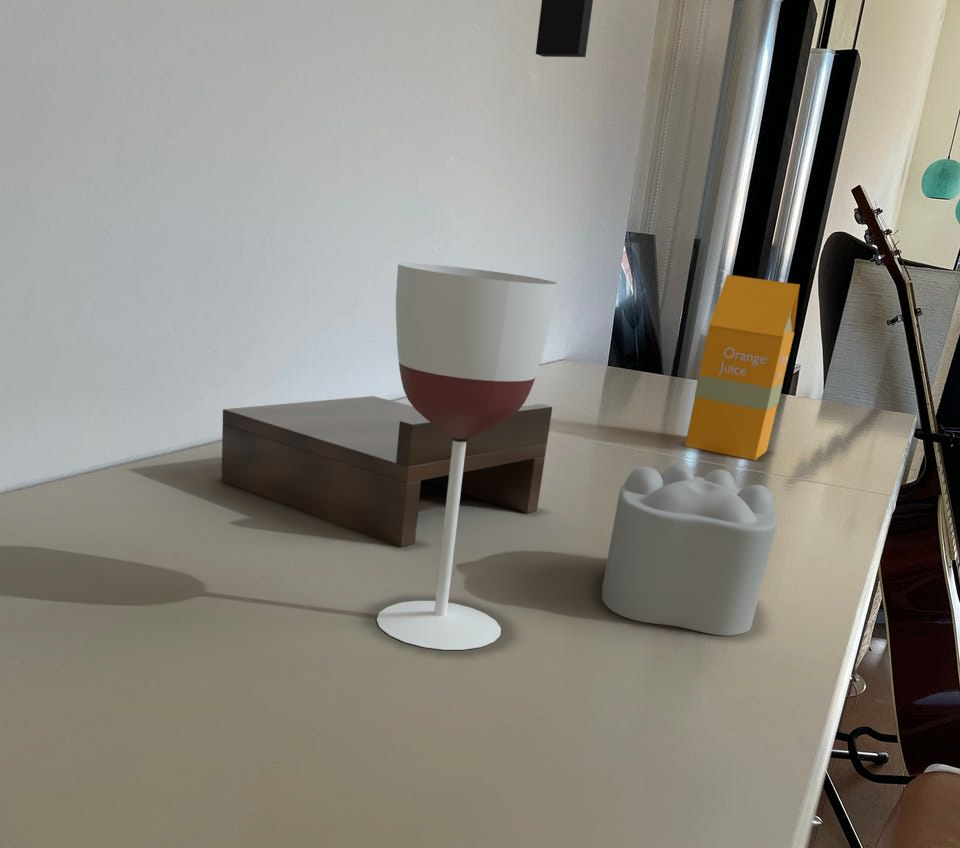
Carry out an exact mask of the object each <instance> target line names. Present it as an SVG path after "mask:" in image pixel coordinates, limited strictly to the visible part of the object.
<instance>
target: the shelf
mask: <svg viewBox="0 0 960 848" xmlns="http://www.w3.org/2000/svg"><path fill="white" fill-rule="evenodd" d="M552 413H553V406H550V405H547V404H542V403H538V404H530V405H522V407H521V408H520V409H519V410H518V411H517V412H516V413H515V414H514V415H513V416H511V417H510V418H509V419H507V420H506V421H504V422H502V423H501V424H499V425H497V426H495V427H493V428H491V429H489V430H486V431H484V432H482V433H480V434H478V435H476V436H474V437H472V438H470V439H469V440H468V441H467V442H466V449H465V458H464V467H463V475H462V484H461V493H462V494H465V495H467V496H472V497H474V498H476V499H477V498H478V499H481V500H484V501H487V502H490V503H493V504H497V505H499V506H502V507H506V508H509V509H513V510H516V511H519V512H522V513H524V514H530V513H533V512H537V511H538V507H539V502H540V501H539V500H540V494H541V488H542V481H543V474H544V468H545V467H544V465H545V459H546V452H547V446H548V440H549V432H550V428H551V427H550V426H551V420H552ZM221 433H222V434H221V435H222V436H221V437H222V438H221V439H222V440H221V482H223V483H226V484H229V485H231V486H234V487H237V488H239V489H242V490H245V491H247V492H251V493H252V494H256V495H257V496H258V495H259V496H261V497H264V498H266V499H269V500H272V501H275V502H278V503H280V504H283V505H286V506H288V507H291V508H294V509H297V510H299V511H301V512H305V513H308V514H310V515H313V516H315V517H318V518H321V519H323V520H327V521H328V522H332V523H334V524H336V525H340V526H343V527H345V528H348V529H351V530H352V531H353V530H354V531H356V532H359V533H361V534H364V535H367V536H370V537H372V538H375V539H378V540H380V541H383V542H386V543H389V544H392V545H394V546H397V547H400V548H403V547H406V546H410V545H415V544H416V535H417V526H418V525H417V524H418V516H419V505H420V496H421V495H420V494H421V484H422V481H424V482H427V483H430V484H433V485H436V486H439V487H443V488H446V489H448V482H449V473H450V463H451V454H452V445H453V440H452V438H451V437H450V436H449V435H448V434H446V433H445V432H444V431H442V430H441V429H440V428H438V427H437V426H435V425H434V424H432V423H431V422H429V421H428V420H427V419H426V418H424V417H423V416H422V415H421V414H420V413H419V412H418V411H417V410H416V409H415V408H414V407H413V406H412V405H408V404H404V403H401V402H397V401H394V400H391V399H386V398H382V397H378V396H375V395H370V396H369V395H367V396H358V397H347V398H346V397H345V398H333V399H325V400H313V401H301V402H300V401H299V402H289V403H288V402H287V403H279V404H278V403H277V404H267V405H266V404H265V405H255V406H246V407H244V406H243V407H232V408H223V409H222V432H221ZM461 493H460V494H461Z"/></svg>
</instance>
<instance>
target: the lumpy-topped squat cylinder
mask: <svg viewBox="0 0 960 848" xmlns="http://www.w3.org/2000/svg"><path fill="white" fill-rule="evenodd" d="M614 515H615V516H614V520H613V525H612V526H613V527H612V531H611V536H610V543H609V548H608V555H607V559H606V565H605V570H604V576H603V581H602V588H601V593H602V602H603V603H604V605H605V606H606V607H607V608H608V609H609V610H610V611H612V612H613V613H615V614H616V615H619V616H621V617H624V618H626V619H629V620H632V621H637V622H641V623H649V624H656V625H662V626H663V625H665V626H671V627H678V628H681V629H687V630H691V631H696V632H700V633H705V634H710V635H716V636H723V637H726V636H728V637H729V636H739V635H742V634H745V633H747V632H749V631H750V630H751V628H752V626H753V621H754V617H755V614H756V609H757V605H758V602H759V598H760V593H761V589H762V585H763V582H764V577H765V573H766V569H767V564H768V561H769V556H770V553H771V549H772V544H773V540H774V537H775V532H776V528H777V515H776V512H775V511H774V499H773V494H772V493H771V492H770V490H769V489H768V488H767V487H766V486H764V485H761V484H751V485H747V486H745V487H743V488H739V487H737V486H736V483H735V480H734V478H733V476H732V474H731V473H730V472H729V471H727V470H724V469H712V471H711V470H710V471H709V472H708V473H707V474H706V475H705V476H704V477H701V476H694V471H693V470H692V468H691V467H690V466H689V465H687V464H685V463H674V464H672V465H670V466H669V467H667V468H666V469H665V470H664V471H663V472H662V473H659V472H658V470H656V469H655V468H653V467H650V466H638V467H635V468H634V469H633V470H632V471H630V473H629V474H628V476H627V479H626V481H624V482H623V484H622V485H621V487H620V489H619V493H618V498H617V504H616V510H615V514H614Z"/></svg>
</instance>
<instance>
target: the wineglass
mask: <svg viewBox="0 0 960 848" xmlns="http://www.w3.org/2000/svg"><path fill="white" fill-rule="evenodd" d="M396 272H397V274H396V289H395V290H396V291H395V325H396V326H395V327H396V328H395V329H396V348H397V349H396V351H397V358H398V359H397V360H398V367H399V374H400V381H401V384H402V388H403V392H404V394H405V396H406V398H407V400H408V402H410V404H411V406H413V407H414V408H415V409H416V410H417V411H418V412H419V413H420V414H421V415H422V416H423V417H424V418H426V419H427V420H428V421H429V422H431V423H432V424H434V425H435V426H437V427H438V428H440V429H441V430H442V431H444V432H445V433H446V434H448V435H449V436H450V437H451V438H452V440H453V445H452V454H451V463H450V473H449V482H448V488H447V491H446V500H445V501H446V502H445V511H444V519H443V529H442V536H441V538H442V539H441V548H440V555H439V566H438V573H437V585H436V591H435V592H436V593H435V600H411V601H402V602H398V603H395V604H392V605H389V606H387V607H385V608H384V609H382V610H381V611H379V612H378V615H377V618H376V621H377V624H378V626H379V628H380V629H381V630H382V631H383V632H385V633H386V634H387V635H388V636H390V637H393V638H395V639H397V640H400V641H401V642H402V643H403V642H404V643H407V644H411V645H415V646H418V647H422V648H427V649H434V650H435V649H436V650H443V651H446V650H447V651H449V650H450V651H451V650H452V651H456V650H458V651H462V650H470V649H471V650H472V649H478V648H482V647H485V646H488V645H490V644H493V643H494V642H495V641H496V640H498V639H499V637H500V636H501V630H502V628H501V626H500V624H499V623H498V622H497V620H495V619H494V618H493V617H492V616H489V615H488V614H487V613H486V612H482V611H480V610H478V609H475V608H472V607H470V606H466V605H461V604H458V603H454V602H449V597H450V590H451V589H450V588H451V579H452V571H453V562H454V553H455V544H456V536H457V526H458V517H459V509H460V503H461V502H460V500H461V484H462V475H463V467H464V458H465V449H466V442H467V441H468V440H469V439H470V438H472V437H474V436H476V435H478V434H480V433H482V432H484V431H486V430H489V429H491V428H493V427H495V426H497V425H499V424H501V423H502V422H504V421H506V420H507V419H509V418H510V417H511V416H513V415H514V414H515V413H516V412H517V411H518V410H519V409H520V408H521V407H522V406H524V404H525V403H526V401H527V399H528V397H529V395H530V393H531V391H532V389H533V386H534V383H535V380H536V378H537V375H538V372H539V368H540V365H541V362H542V360H543V359H542V358H543V354H544V351H545V348H546V347H545V346H546V344H547V338H548V334H549V329H550V325H551V320H552V315H553V309H554V304H555V300H556V299H555V297H556V292H557V286H558V283H557V282H556V281H553V280H548V279H543V278H538V277H532V276H526V275H522V274H521V275H520V274H514V273H506V272H500V271H499V272H498V271H492V270H486V269H485V270H484V269H476V268H469V267H459V266H450V265H442V264H441V265H440V264H429V263H416V262H415V263H414V262H399V263H397V271H396Z"/></svg>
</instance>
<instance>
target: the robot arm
mask: <svg viewBox="0 0 960 848" xmlns="http://www.w3.org/2000/svg"><path fill="white" fill-rule="evenodd" d="M593 3H594V0H541V3H540V4H541V5H540V13H539V21H538V30H537V39H536V47H535V55H538V56H540V57H543V58H586V55H587V49H588V41H589V34H590V27H591V19H592V11H593Z"/></svg>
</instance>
